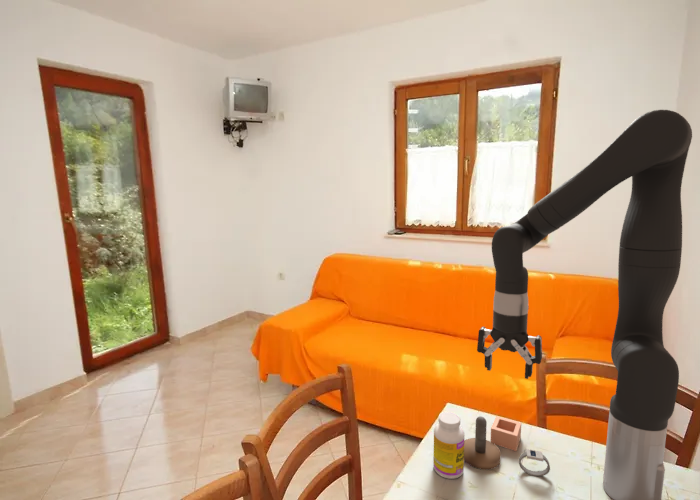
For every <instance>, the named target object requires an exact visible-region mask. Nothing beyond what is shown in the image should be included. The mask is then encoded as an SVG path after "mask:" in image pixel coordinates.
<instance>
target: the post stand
mask: <svg viewBox="0 0 700 500" xmlns="http://www.w3.org/2000/svg"><path fill="white" fill-rule="evenodd" d="M487 424H488V423H487V420H486V418H485V417H483V416H481V415H480V416H477V417H476V418H475V431H474V432H475V433H474V434H475V435H474V437H470V438H465V439H464V463H465V464H466V465H469V466H471V467H473V468H474V469H478V470H483V471H484V470H487V471H488V470H493V469H496V468H497V467H499V465H500V463H501V458H502V456H501V455H502V453H501V450H500V448H499V447H498V445H495V444H493V443H492V442H491V440H488V439H487V427H488V426H487Z"/></svg>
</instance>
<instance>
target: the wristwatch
mask: <svg viewBox="0 0 700 500" xmlns="http://www.w3.org/2000/svg"><path fill="white" fill-rule="evenodd" d="M525 457H526V459H529V460H534V461H539V462H545V463H546V464H547V465H546V466H547V467H546V468H545V469H543V470H539V471H536V470H531V469H528V468H527V467H526V466H524V465H523V463H522V460H523V459H524V458H525ZM518 465H519V467H520V469H521V470H522V471H523V472H525V473H526V474H528V475H530V476H534V477H543V476H546V475H548V474H549V473H550V471H551V467H550V466H551V465H550V462H549V460H548V458H547V457H546V456H545V455H544V454H543V451H540V450H534V449H529V448H526V449H525V451H524V452H522V453H521V454H520V456H519V457H518Z"/></svg>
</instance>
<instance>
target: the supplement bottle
mask: <svg viewBox="0 0 700 500" xmlns="http://www.w3.org/2000/svg"><path fill="white" fill-rule="evenodd" d="M464 441H465V430H464V429H463V427H462V426H461V417H460V416H459V415H458V414H457V413H455V412H452V411H443V412H440V413H439V415H438V423H437V424H435V426H434V429H433V461H432V462H433V470H434V471H435V472H436V473H437V474H438V476H440V477H442V478H445V479H449V480H451V479H452V480H453V479H454V480H455V479H457V478H460V477H461V476H462V475H463V473H464V468H465V467H464V466H465V465H464V464H465V461H464Z"/></svg>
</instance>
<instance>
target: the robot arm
mask: <svg viewBox="0 0 700 500" xmlns="http://www.w3.org/2000/svg"><path fill="white" fill-rule="evenodd" d="M692 139H693V130H692V127H691V125H690V123H689V121H688V120H687V119H686V118H685V117H684V116H683V115H681V114H680V113H678V112H676V111H673V110H670V109H656V110H651V111H648V112H645V113H643V114H641V115H639V116H638V117H637V118H635V119H634V120H633V121H632V122H631V123H630V124H629V125H628V126H627V127H626V128H625V129H624V130H623V131H622V132H621V133H620V134H619V135H618V136H617V137H616V138H615V139H614V140H613V141H612V142H611V143H610V144H609V145H608V147H606V148H605V149H604V150H603V151H602V152H601V153H599V155H597V156H596V158H594V159H593V160H592V161H591V162H590V163H588V164H587V165H586V166H585V167H583V168H582V169H581V170H579V171H578V172H577V173H575V174H574V175H573V176H572V177H570V178H569V179H567V180H566V181H564V182H563V183H562V184H561V185H559V186H558V187H556V188H555V189H554V190H552V191H551V192H549V193H548V194H547V195H545V196H544V197H543V198H541V199H540V200H538V201H537V202H536V203H535V204H533V205H532V206H531V207H530V208H529V209H528V210H527V213H526V214H525V215H524V216H522V217H521V218H520V219H518V220H517V221H514V223H512V224H509V225H504V226H501V227H499V228H498V229H497V230H496V231H495V232H494V234H493V236H492V238H491V239H492V240H491V254H492V260H493V267H494V270H495V285H494V290H495V291H494V294H493V295H494V296H493V310H492V314H493V315H492V329H488V328H486V327H485V326H481V327H480V328H479V330H478V335H477V345H476V351H477V353H481V354H483V356H484V368H486V371H488V372H489V371H491V370H492V368H493V367H492V366H493V352H495V351H496V350H497V349H500V350H501V351H509V352H511V353H516V352H517V353H518V354H519V355H520V356H521V358H523V360H524V361H525V367H524V368H525V369H524V379H526V380H528V379H529V378H531V377H532V374H533V369H534V367H533V365H534V364H538V365H540V364H541V363H542V359H543V347H542V346H543V344H542V343H543V340H542V339H543V337H542V336H541V335H539V334H538V335H536V336H532V335H529V334H528V317H529V313H528V312H529V309H530V308H529V296H528V293H529V292H528V291H529V290H528V288H529V272H528V270H527V268H526V267H525V266H524V260H523V259H524V257H523V255H524V253H526V252H527V251H529V250H531V249H533V248H534V247H535V246H536V245H538V244H539V243H541V242H542V241H543V239H545V238H546V237H548V235H550V234H551V233H554V232H555V231H557V230H559V229H560V228H562V227H563V226H565V225H566V224H568V223H569V222H571V221H572V220H574V219H575V218H577V217H578V216H579V215H580V214H582V213H583V212H585V211H586V210H587V209H589V207H591V206H592V205H593V204H594V203H595V202H596V201H598V200H599V199H600V198H602V197H603V196H604V195H605V194H607V193H608V192H610V191H611V190H612V189H613V188H615V187H617V186H618V185H619V184H621V183H623V182H624V181H626V180H628V179H629V178H631V193H630V198H629V203H628V205H627V209H626V212H625V216H624V220H623V224H622V228H621V233H620V240H619V246H618V247H619V248H618V249H619V250H618V267H617V269H618V273H617V274H618V276H617V278H618V279H617V282H618V283H617V285H618V286H617V290H618V291H617V292H618V293H617V294H618V310H617V311H618V312H617V318H616V323H615V328H614V334H613V339H612V343H611V348H610V349H611V350H610V353H611V354H610V356H611V360H612V363H613V365H614V367H615V369H616V370H617V377H616V379H617V380H616V388H615V394H614V395H612V397H611V398H610V402H609V412H608V423H607V432H606V433H607V434H606V436H607V437H606V445H605V454H604V455H605V456H604V468H603V475H602V476H603V477H602V487H603V489H604V491H605V493H606V494H607V495H608V496H609V497H610V498H611V499H612V500H662V497H663V496H662V495H663V490H664V488H663V487H664V480H665V479H664V478H665V471H666V469H665V463H664V457H665V451H666V450H665V449H666V442H667V441H666V440H667V439H666V438H667V431H668V423H669V419H671V417H672V416H673V414H674V411H675V406H676V401H677V400H676V399H677V394H678V389H679V380H680V370H679V366H678V363H677V360H675V358H674V357H673V356H672V355H671V353H670V352H669V351H668V350H667V349H666V347H665V346H664V337H663V336H664V335H663V334H664V333H663V322H664V321H663V320H664V319H663V317H664V312H665V307H666V304H667V303H668V301H669V299H670V296H671V295H672V293H673V291H674V289H675V286H676V284H677V281H678V278H679V275H680V271H681V262H682V261H681V260H682V253H683V252H682V250H683V213H682V212H683V210H682V198H681V195H682V193H681V192H682V184H683V177H684V172H685V167H686V162H687V159H688V158H687V157H688V153H689V150H690V147H691V143H692ZM488 336H490V337H491V338H492V340H493V342H492V343H491V344H490V345H489V346H488V347H486V346H485V344H486V343H485V342H486V339H487V338H488ZM527 343H530V344H531V346H532V347H534V355H533V356H532V354H531V352H530V351H529V348H528V347H527V346H526V344H527Z"/></svg>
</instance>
